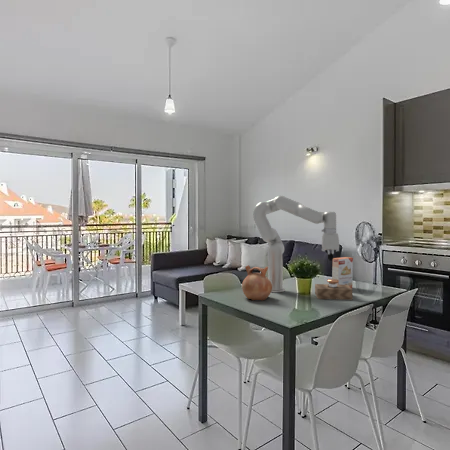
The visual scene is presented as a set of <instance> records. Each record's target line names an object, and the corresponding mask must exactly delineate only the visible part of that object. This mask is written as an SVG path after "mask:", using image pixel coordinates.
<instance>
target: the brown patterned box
mask: <svg viewBox="0 0 450 450" xmlns="http://www.w3.org/2000/svg"><path fill="white" fill-rule="evenodd" d="M314 294H315V297H316V298H317V300H346V301H348V300H350V301H351V300H353V288H350V287H349V286H348V285H337V288H329V283H326V284H325V283H322V284H321V283H315V284H314Z"/></svg>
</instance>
